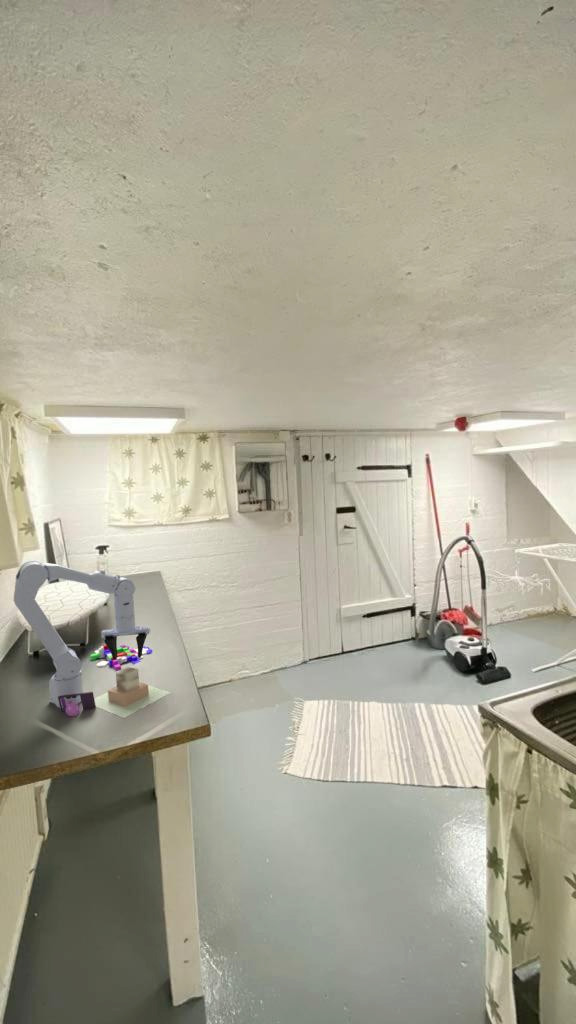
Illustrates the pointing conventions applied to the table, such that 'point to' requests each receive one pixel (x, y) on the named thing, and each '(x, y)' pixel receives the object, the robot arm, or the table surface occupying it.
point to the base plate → (124, 711)
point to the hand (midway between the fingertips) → (127, 657)
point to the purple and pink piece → (72, 707)
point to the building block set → (118, 656)
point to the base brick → (128, 695)
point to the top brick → (127, 679)
